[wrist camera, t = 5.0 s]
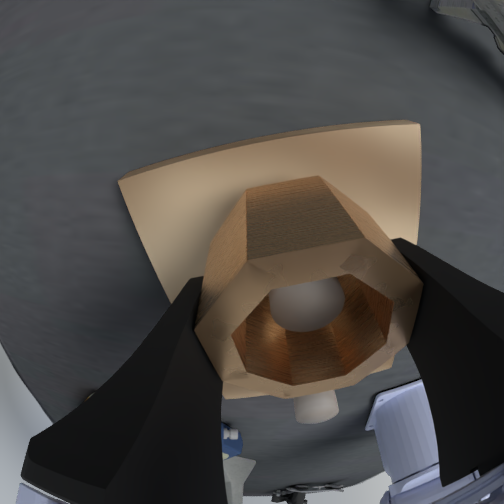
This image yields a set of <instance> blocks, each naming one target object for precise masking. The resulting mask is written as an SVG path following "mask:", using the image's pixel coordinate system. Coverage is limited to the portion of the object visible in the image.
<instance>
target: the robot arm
mask: <svg viewBox="0 0 504 504" xmlns="http://www.w3.org/2000/svg"><path fill="white" fill-rule="evenodd" d="M391 241H392V242H393V244H394V245H395V246H396V248H397V249H398V250H399V251H400V253H401V254H402V255H403V257H404V258H405V259H406V261H407V262H408V263H409V265H410V266H411V267H412V269H413V270H414V271H415V273H416V274H417V275H418V277H419V278H420V280H421V281H422V282H423V284H424V285H423V289H422V294H421V298H420V303H419V307H418V311H417V315H416V319H415V323H414V326H413V330H412V334H411V337H410V341H409V343H408V344H407V347H408V349H409V351H410V353H411V355H412V357H413V360H414V362H415V364H416V366H417V368H418V371H419V373H420V376H421V380H418V381H415V382H412V383H410V384H407V385H404V386H401V387H398V388H395V389H392V390H388V391H385V392H382V393H379V394H378V395H377V396H376V398H375V401H374V404H373V407H372V410H371V413H370V416H369V418H368V421H367V424H366V427H365V429H366V430H367V431H368V430H372V429H374V431H375V435H376V439H377V443H378V446H379V450H380V455H381V459H382V463H383V467H384V470H385V471H386V473H387V474H388V475H389V476H390V477H391V479H392V483H393V484H392V485H390V486H389V491H386V492H385V494H384V496H383V497H382V499H381V501H380V504H504V293H503V292H501V291H499V290H496V289H494V288H492V287H490V286H488V285H486V284H484V283H482V282H480V281H478V280H476V279H475V278H473V277H471V276H469V275H467V274H465V273H464V272H462V271H460V270H458V269H457V268H455V267H453V266H451V265H450V264H448V263H446V262H444V261H443V260H441V259H439V258H438V257H436V256H434V255H432V254H431V253H429V252H427V251H426V250H424V249H422V248H420V247H419V246H417V245H415V244H413V243H411V242H409V241H407V240H405V239H403V238H401V237H400V238H395V239H391ZM203 278H204V276H200V277H194V278H190V279H189V280H188V282H187V283H186V284H185V286H184V287H183V288H182V290H181V291H180V293H179V294H178V295H177V297H176V298H175V300H174V301H173V303H172V304H171V305H170V307H169V308H168V309H167V311H166V312H165V314H164V315H163V316H162V318H161V319H160V321H159V322H158V323H157V325H156V326H155V327H154V328H153V330H152V331H151V332H150V333H149V335H148V336H147V337H146V339H145V340H144V341H143V342H142V344H141V345H140V346H139V347H138V349H137V350H136V351H135V352H134V353H133V354H132V356H131V357H130V358H129V359H128V360H127V361H126V362H125V363H124V364H123V365H122V367H121V368H120V369H119V370H118V371H117V372H116V373H115V374H114V375H113V376H112V377H111V378H110V379H109V380H108V381H107V382H105V383H104V384H103V385H102V386H101V387H100V388H99V389H98V390H97V391H96V392H95V393H94V394H93V395H91V396H90V397H89V398H88V399H87V400H86V401H84V402H83V403H82V404H81V405H79V406H78V407H77V408H76V409H74V410H73V411H72V412H70V413H69V414H68V415H66V416H65V417H64V418H62V419H61V420H59V421H58V422H56V423H55V424H53V425H52V426H50V427H48V428H47V429H45V430H44V431H42V432H41V433H39V434H37V435H36V436H34V437H32V438H31V439H30V442H29V445H28V449H27V452H26V456H25V460H24V464H23V467H22V472H21V477H22V479H23V480H25V481H27V482H28V483H30V484H32V485H34V486H35V487H37V488H39V489H41V490H43V491H45V492H47V493H49V494H51V495H53V496H55V497H58V498H60V499H62V500H64V501H66V502H69V503H70V504H228V501H227V494H226V486H225V477H224V467H223V454H222V438H221V401H222V390H223V381H222V380H221V378H220V376H219V375H218V373H217V371H216V369H215V368H214V366H213V364H212V362H211V361H210V359H209V357H208V355H207V353H206V351H205V350H204V348H203V346H202V344H201V342H200V340H199V338H198V336H197V335H196V333H195V331H194V328H195V322H196V317H197V311H198V305H199V300H200V294H201V288H202V283H203ZM66 502H63V501H60V500H58V499H54V498H52V497H50V496H47V495H45V494H43V493H41V492H39V491H38V490H35V489H34V488H31V487H29V486H27V485H25V484H23V483H20V485H19V490H18V495H17V500H16V504H68V503H66Z"/></svg>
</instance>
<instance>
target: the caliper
mask: <svg viewBox="0 0 504 504" xmlns="http://www.w3.org/2000/svg"><path fill="white" fill-rule="evenodd" d="M430 8H431V9H432V10H434V11H435V12H436V13H438V14H442V15H447V16H451V17H455V18H459V19H463V20H467V21H470V22H473V23H477V24H480V25H483V26H486V27H488V28H489V29H490V30H491V32H492V33H493V34H494V39H495V42H496V45H497V48H498V49H499V50H500V52H501V53H502V54H504V0H431V3H430Z"/></svg>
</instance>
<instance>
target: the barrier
mask: <svg viewBox="0 0 504 504" xmlns="http://www.w3.org/2000/svg"><path fill="white" fill-rule="evenodd" d="M255 464H256V461H255V460H250V459H246V458H241V457H237V456H234V457H231V458H229V459H226V460H225V462H224V463H223V467H224V477H225V486H226V494H227V501H228V504H242V499H243V483H244V482H245V480H246V479H247V477H248V476H249V474H250V472H251V471H252V469H253V467H254V466H255Z"/></svg>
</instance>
